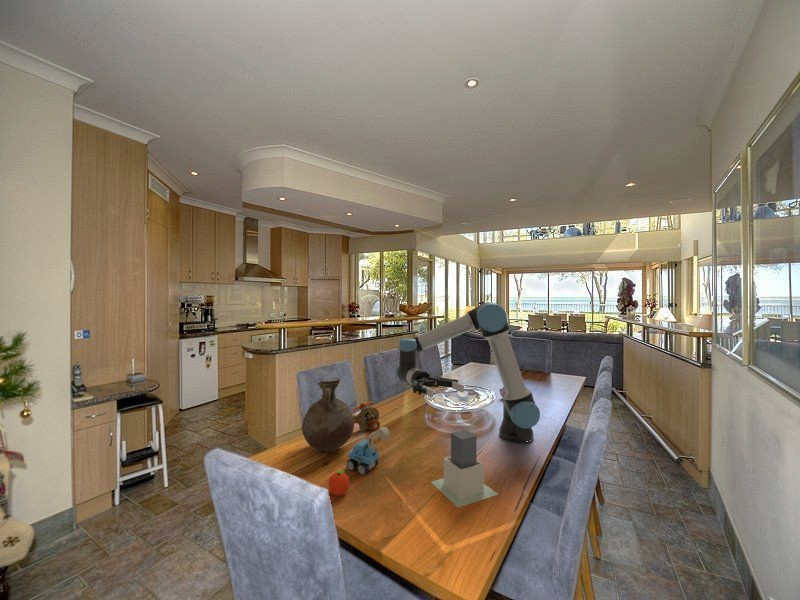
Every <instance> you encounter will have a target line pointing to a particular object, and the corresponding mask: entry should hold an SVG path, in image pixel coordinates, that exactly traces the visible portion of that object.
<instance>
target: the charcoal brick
mask: <svg viewBox="0 0 800 600" xmlns="http://www.w3.org/2000/svg"><path fill="white" fill-rule="evenodd" d="M477 437H478V436H477V435H476V434H474V433H472V432H470V431H469V430H466V429H462V430H458V431H457V430H456V431H452V432H450V456H451V462H452V463H453V464H455V465H456V466H457V467H459V468H460V469H464V468H468V467H471V466H475V465H476V459H477V446H478V445H477V441H478V439H477Z"/></svg>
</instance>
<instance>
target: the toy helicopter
mask: <svg viewBox="0 0 800 600" xmlns="http://www.w3.org/2000/svg"><path fill="white" fill-rule="evenodd" d="M373 403H374V401H373V400H370V401H367V402H364V403H363V402H362V403H360V405H359V406H357V407H354V408H353V409H352V410H351V412H352V413H354V412H356V411H359V410H360V411H359V412H358V414H357V415H353V419H354V425H356V424H358V426H359V427H358V428H359V430H360V431H361V432H363V431H362V430H364V431H365V430H366V429H371V430H372V431H373V432H375V430H376V431H378V429H380V428H381V427H380V426H381V423H380V421H379V418H380V414H379V413H380V412H379V409H377V408H376V407H374V406H368V405H372V404H373Z"/></svg>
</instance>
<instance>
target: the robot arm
mask: <svg viewBox="0 0 800 600" xmlns="http://www.w3.org/2000/svg"><path fill="white" fill-rule="evenodd" d="M507 316H508V315H507V312H506V310H505V308H503V307H502V306H501V305H500V304H498V303H496V302H488V301H487V302H483V303H480V304H479V305H477V306H476V307H474V308H472V309H471V310H469V311H466V313H465V315H463V316H460V317H458V318H455V319H454V320H450V321H449V322H446V323H444V324H442V325H440V326H437V327H434V328H432V329H430V330H428V331H426V332H423V333H422V334H418V335H416V336H414V337H411V338H409V337H408V338H406V337H404V338H400V339H399V343H398V344H399V346H398V348H399V349H398V350H399V353H398V354H399V364H398V366H397V367H396V369H395V375H396V378H398V380H400V381H401V382H403V383H406V384H408V385H410V388H412V393H413V394H417V393H418V395H419V396H420V395H422V394H423V395H426V396H427V397H430V398H434V389H432V388H433V387H435V388H438V387H443V388H444V387H446V388H452V389H453V390H455V391H457V392H460V393H463V394H464V393H465V385H464V384H462V383H459V379H455V378H448V377H441V376H436V377H433V376H431V375H430V373H429V372H427V371H425V370H422V369H419V368H417V354H419V353H422V352H423V351H425V350H428V349H430V348H433V347H435V346H437V345H440V344H441V343H445V342H447V341H448V340H452V339H453V338H454V339H455V338H457V337H459V336H461V335H463V334H465V333H468V332H470V331H479V330H480V332H481V335H482V338H483V339H485V340H487V341H488V345H489V347H490V350H491V354H492V356H493V360H494V362H495V366H496V368H497V371H498V374H499V376H500V381H501V384H502V385H503V387H504V391H503V397H502V399H503V401H502V403H503V405H502V406H503V413H502V414H503V415H502V416H503V417H502V421H501V424H500V426H499V430H498V435H499V436H501V437H500V438H502V439H503V438H504V439H503V440H505V439H506V440H505V441H508V440H509V441H508V442H511V441H515V442H514V443H517V442H526V441H530V440H532V439H533V440H534V431H533V427H535V426H536V425H537V424H538V423H539V421H540V419H541V412H540V407H538V405H537V404H536V402H535V399H534V396H533V393H532V390H531V389H530V388H528V387H526V384H525V381H524V378H523V376H522V373H521V370H520V366H519V364H518V361H517V358H516V355H515V352H514V349H513V346H512V344H511V340H510V338H509V332H510V326H509V324H508V323H509V322H508V317H507ZM533 440H532V441H533ZM530 442H531V441H530Z"/></svg>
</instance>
